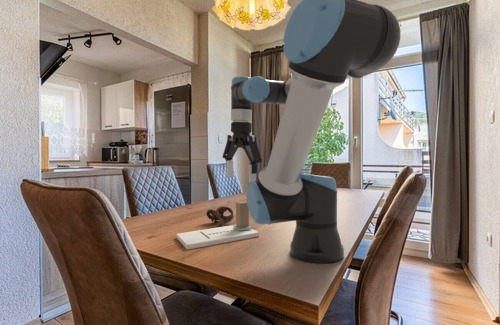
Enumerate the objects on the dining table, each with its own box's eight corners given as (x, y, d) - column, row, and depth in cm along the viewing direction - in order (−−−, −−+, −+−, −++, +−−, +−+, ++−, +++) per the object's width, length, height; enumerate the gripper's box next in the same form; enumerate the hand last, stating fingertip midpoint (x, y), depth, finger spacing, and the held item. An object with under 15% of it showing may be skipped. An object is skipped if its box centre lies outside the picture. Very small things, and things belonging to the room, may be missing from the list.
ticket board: (259, 236, 95) (258, 231, 95) (187, 249, 83) (187, 244, 83) (241, 227, 107) (241, 223, 107) (176, 237, 95) (176, 233, 95)
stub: (252, 228, 98) (251, 203, 98) (240, 230, 96) (239, 204, 96) (244, 225, 103) (244, 200, 103) (233, 227, 101) (232, 201, 101)
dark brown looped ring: (232, 221, 121) (236, 207, 117) (229, 235, 113) (233, 221, 109) (206, 214, 120) (209, 200, 116) (201, 229, 112) (204, 214, 108)
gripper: (273, 121, 89) (271, 183, 91) (229, 122, 108) (229, 174, 110) (256, 120, 84) (255, 186, 86) (213, 122, 103) (213, 176, 105)
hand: (240, 179), depth 98 cm, fingers open, 13 cm apart
